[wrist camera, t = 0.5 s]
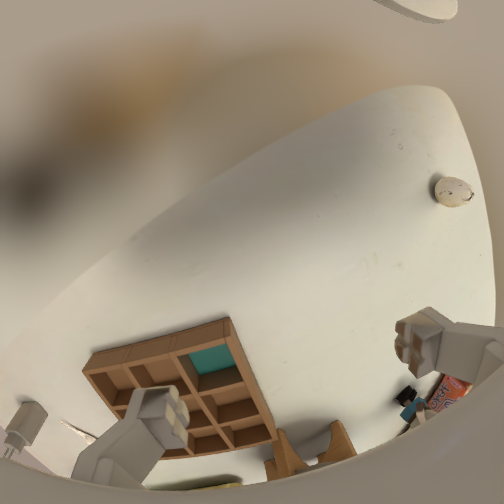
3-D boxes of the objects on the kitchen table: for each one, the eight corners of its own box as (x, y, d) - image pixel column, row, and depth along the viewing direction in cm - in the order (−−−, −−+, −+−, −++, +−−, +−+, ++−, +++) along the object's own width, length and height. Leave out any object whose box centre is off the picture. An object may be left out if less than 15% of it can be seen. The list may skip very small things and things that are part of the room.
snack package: (444, 365, 31) (469, 389, 24) (464, 364, 32) (487, 385, 25) (379, 454, 35) (393, 479, 28) (403, 449, 36) (417, 471, 29)
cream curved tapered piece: (146, 470, 30) (145, 477, 29) (128, 472, 30) (127, 479, 29) (76, 415, 26) (72, 422, 25) (61, 419, 26) (58, 426, 25)
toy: (427, 390, 31) (477, 449, 17) (398, 418, 32) (441, 481, 18) (406, 373, 29) (467, 444, 15) (373, 405, 30) (422, 482, 16)
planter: (292, 473, 33) (315, 558, 16) (237, 450, 30) (249, 560, 12) (359, 434, 32) (404, 520, 15) (314, 404, 29) (365, 525, 11)
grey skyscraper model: (49, 416, 26) (21, 468, 15) (33, 417, 26) (6, 464, 15) (36, 401, 25) (4, 453, 14) (21, 403, 25) (-9, 449, 14)
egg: (429, 174, 23) (461, 175, 18) (447, 178, 24) (479, 180, 19) (428, 204, 24) (460, 209, 19) (446, 206, 24) (478, 211, 20)
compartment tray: (229, 316, 25) (230, 335, 21) (274, 420, 29) (279, 440, 25) (93, 353, 24) (81, 370, 21) (159, 441, 28) (156, 460, 25)
